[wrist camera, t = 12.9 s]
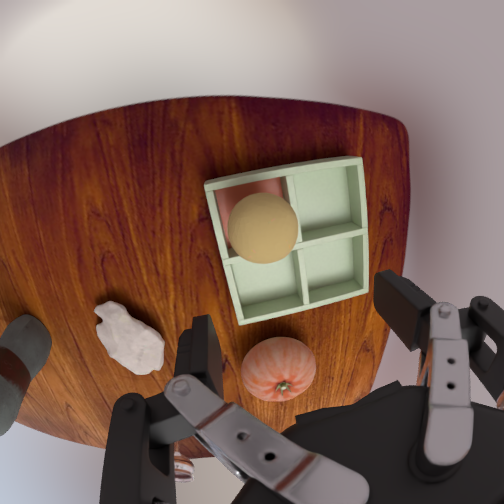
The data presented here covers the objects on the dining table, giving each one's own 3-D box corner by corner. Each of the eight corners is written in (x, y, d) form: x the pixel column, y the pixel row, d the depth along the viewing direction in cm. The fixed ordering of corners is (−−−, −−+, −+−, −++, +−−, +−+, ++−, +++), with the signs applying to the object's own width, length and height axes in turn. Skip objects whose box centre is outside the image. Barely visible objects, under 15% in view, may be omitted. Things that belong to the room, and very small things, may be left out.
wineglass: (168, 415, 44) (163, 467, 33) (200, 425, 46) (200, 475, 35) (157, 429, 46) (152, 476, 35) (187, 438, 48) (186, 484, 37)
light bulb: (226, 239, 32) (230, 278, 23) (224, 184, 30) (226, 201, 21) (280, 236, 33) (305, 272, 24) (281, 182, 30) (308, 198, 21)
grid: (205, 180, 30) (203, 184, 27) (348, 155, 31) (362, 157, 27) (237, 310, 37) (239, 325, 33) (357, 280, 37) (368, 292, 34)
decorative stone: (86, 293, 34) (120, 364, 40) (74, 309, 30) (113, 380, 37) (152, 295, 33) (178, 370, 40) (143, 314, 30) (173, 388, 36)
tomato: (235, 375, 41) (239, 414, 34) (243, 323, 38) (249, 362, 30) (298, 375, 43) (311, 410, 36) (315, 325, 39) (333, 361, 32)
